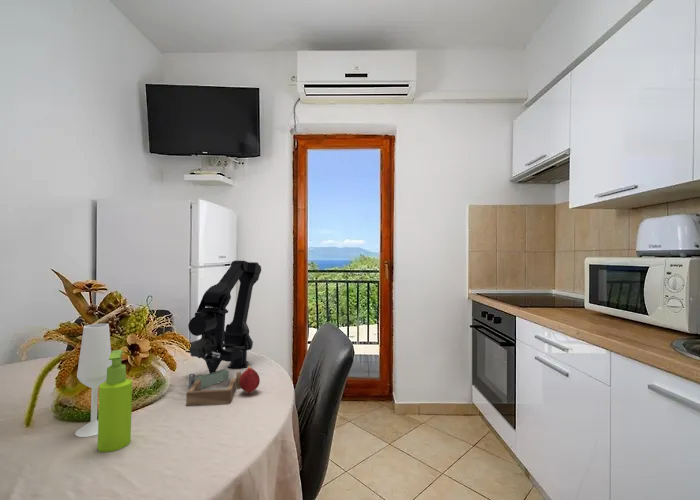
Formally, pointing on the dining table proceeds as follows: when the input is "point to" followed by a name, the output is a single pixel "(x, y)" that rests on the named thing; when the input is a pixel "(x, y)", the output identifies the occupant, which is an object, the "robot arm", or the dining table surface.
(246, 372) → the pomegranate
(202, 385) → the leg bar
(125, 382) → the soap dispenser
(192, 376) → the pin
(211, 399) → the brown u-shaped frame
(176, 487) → the dining table surface
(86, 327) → the champagne flute
